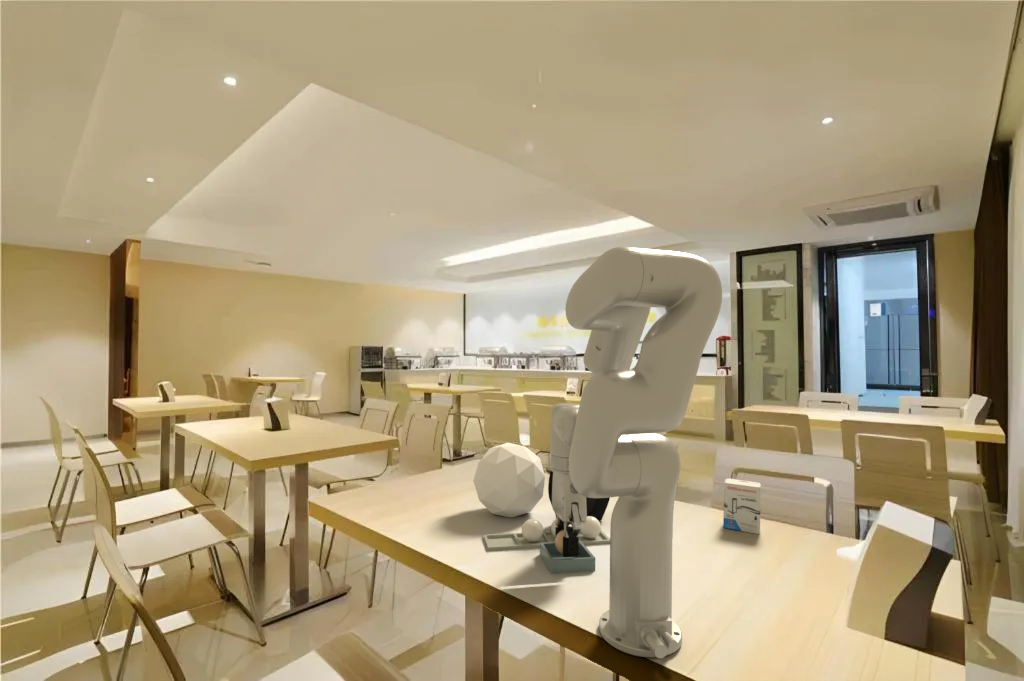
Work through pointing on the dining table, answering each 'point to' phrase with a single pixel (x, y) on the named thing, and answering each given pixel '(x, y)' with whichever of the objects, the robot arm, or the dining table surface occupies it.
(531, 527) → the white egg
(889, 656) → the dining table surface
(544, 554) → the dish
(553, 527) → the white egg
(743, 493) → the ink box
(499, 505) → the polyhedron
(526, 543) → the carton
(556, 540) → the brown egg
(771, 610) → the dining table surface
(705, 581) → the dining table surface
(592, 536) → the white egg
